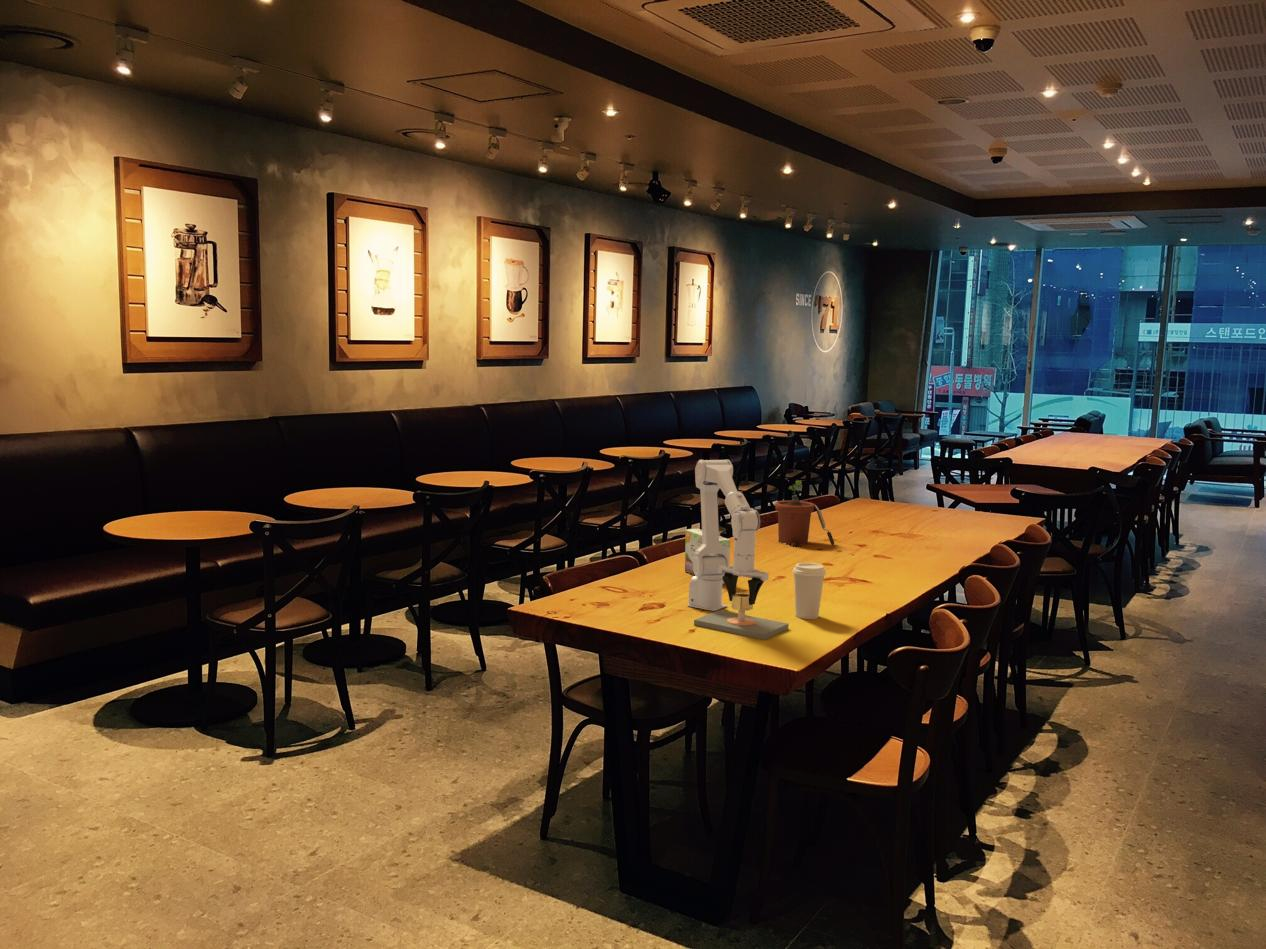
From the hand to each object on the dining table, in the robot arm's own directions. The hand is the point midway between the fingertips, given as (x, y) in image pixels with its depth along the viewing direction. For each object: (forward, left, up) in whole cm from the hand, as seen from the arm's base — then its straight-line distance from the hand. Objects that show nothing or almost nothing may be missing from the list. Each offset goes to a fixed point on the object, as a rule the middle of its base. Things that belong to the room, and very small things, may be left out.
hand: (742, 602), depth 278 cm
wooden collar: (0, 0, -2) cm, 2 cm away
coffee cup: (+9, +23, -7) cm, 26 cm away
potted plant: (-43, +125, -7) cm, 133 cm away
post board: (0, 0, -7) cm, 7 cm away
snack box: (-39, +46, -7) cm, 61 cm away
